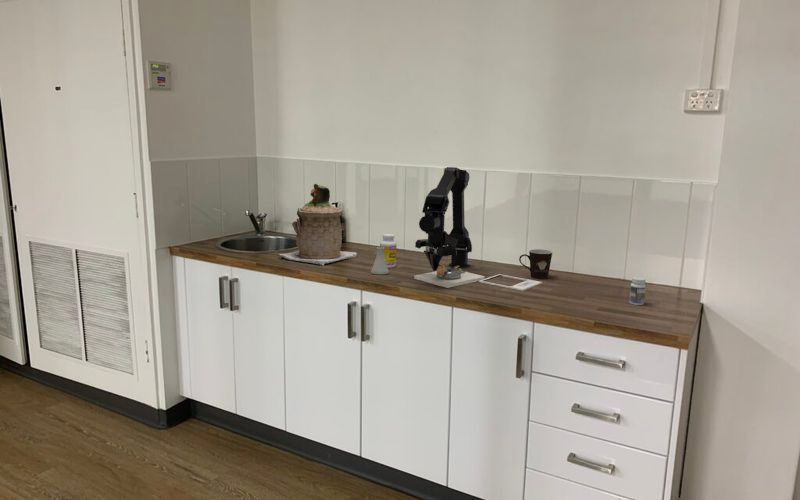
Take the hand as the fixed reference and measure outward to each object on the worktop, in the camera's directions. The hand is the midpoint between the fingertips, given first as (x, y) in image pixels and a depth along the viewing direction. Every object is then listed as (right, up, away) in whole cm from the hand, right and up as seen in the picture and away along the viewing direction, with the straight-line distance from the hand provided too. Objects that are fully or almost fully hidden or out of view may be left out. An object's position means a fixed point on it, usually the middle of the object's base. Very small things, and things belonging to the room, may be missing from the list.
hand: (434, 270), depth 224 cm
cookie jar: (-47, +4, +39) cm, 62 cm away
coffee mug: (+39, -3, +12) cm, 41 cm away
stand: (+6, -3, +6) cm, 9 cm away
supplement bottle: (-17, +1, +26) cm, 31 cm away
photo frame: (+28, -5, +3) cm, 28 cm away
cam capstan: (+5, -2, +4) cm, 7 cm away
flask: (-20, -2, +14) cm, 25 cm away
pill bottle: (+65, -10, -22) cm, 69 cm away
